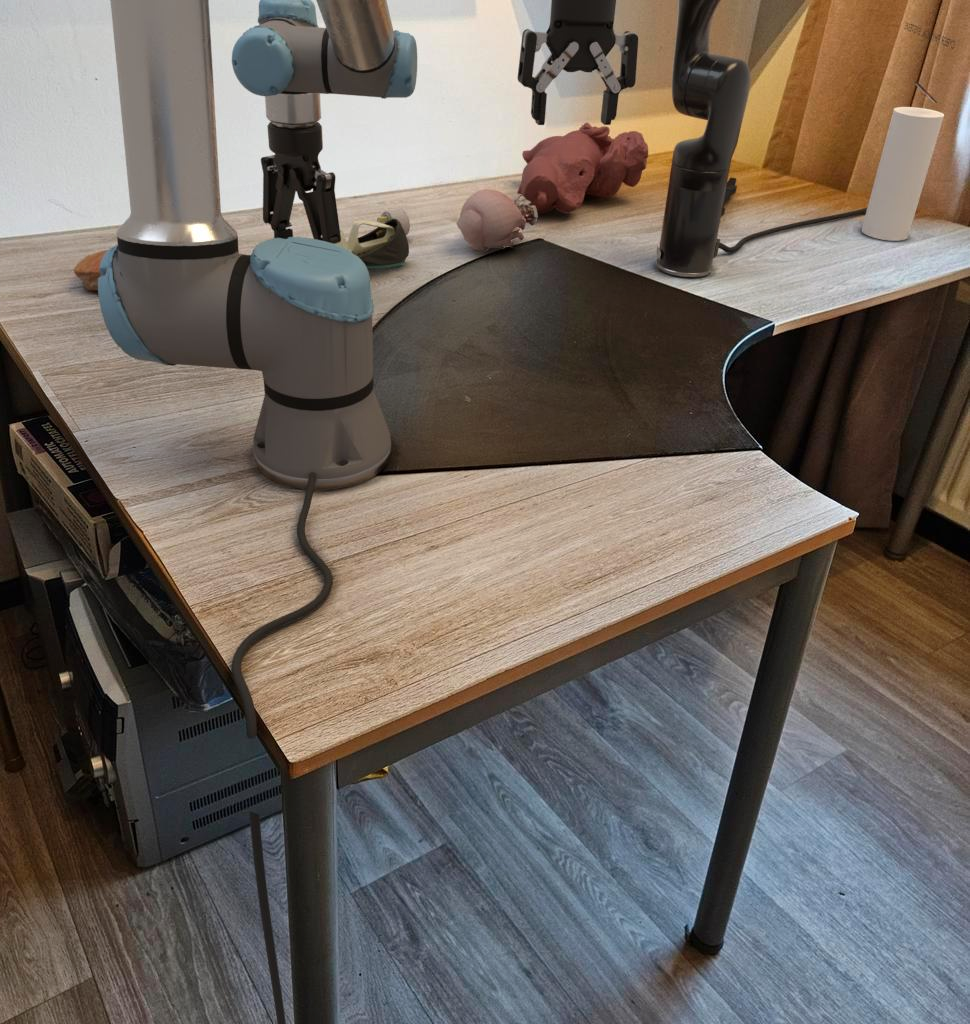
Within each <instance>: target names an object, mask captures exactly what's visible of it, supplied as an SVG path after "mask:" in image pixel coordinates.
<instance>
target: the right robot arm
mask: <svg viewBox="0 0 970 1024" xmlns="http://www.w3.org/2000/svg"><path fill="white" fill-rule="evenodd" d="M721 1H722V0H677V18H676V19H677V21H676V33H675V42H674V44H675V45H674V52H673V62H672V72H671V99H672V103H673V106H674V109H675V110H676V111H677V112H678V113H679V114H681V115H683V116H686V117H691V118H694V119H698V120H699V119H700V120H705V121H707V122H706V125H705V128H704V132H703V133H702V135H701V136H699V137H695V138H689V139H685V140H681V141H678V142H677V143H676V144H675V146H674V148H673V153H672V160H671V165H670V166H671V167H670V172H669V181H668V186H667V194H666V200H665V207H664V214H663V220H662V227H661V234H660V239H659V246H658V245H657V246H656V253H655V254H656V256H657V259H656V261H655V262H656V263H655V266H656V268H657V269H658V270H660V272H663V273H665V274H667V275H670V276H674V277H680V278H681V277H682V278H701V277H705V276H709V275H710V274H711V273H712V271H713V262H714V259H715V258H716V257H718V254H719V249H720V250H722V251H724V252H725V253H728V254H730V253H731V254H732V253H736V252H737V251H738V250H739V249H740V248H741V247H742V246H744V245H745V244H746V243H748V242H750V241H753V240H756V239H759V238H762V237H765V236H769V235H772V234H776V233H779V232H784V231H787V230H792V229H796V228H802V227H806V226H812V225H815V224H821V223H826V222H830V221H836V220H841V219H845V218H851V217H854V216H858V215H863V214H866V211H867V208H868V207H864V208H860V209H856V210H850V211H848V212H842V213H838V214H833V215H827V216H822V217H817V218H812V219H807V220H801V221H798V222H793V223H789V224H785V225H779V226H777V227H773V228H772V227H771V228H769V229H765V230H761V231H758V232H755V233H752V234H749V235H747V236H745V237H743V238H741V239H740V240H739V241H738V242H737V243H736V244H735V245H734V246H731V247H730V246H727V245H726V244H724V243H722V242H721V239H720V238H718V234H719V231H720V225H721V224H720V223H721V219H722V217H721V214H722V208H723V203H724V197H725V192H726V186H727V182H728V180H729V174H730V168H731V165H732V159H733V156H734V154H735V151H736V149H737V146H738V143H739V138H740V134H741V128H742V125H743V119H744V116H745V111H746V107H747V103H748V99H749V95H750V89H751V71H750V67H749V65H748V63H747V62H746V61H745V60H743V59H742V58H741V59H740V58H738V57H733V56H732V57H731V56H727V55H722V54H721V55H720V54H715V53H710V47H709V45H710V34H711V33H710V32H711V26H712V21H713V17H714V16H715V13H716V10H717V9H718V6H719V4H720V3H721ZM550 2H551V3H550V15H549V16H550V17H549V26H548V28H547V30H546V32H544V31H533V30H531V29H529V28H526V29H524V30H523V31H522V35H521V45H520V53H519V59H518V61H519V62H518V69H517V71H518V72H517V81H518V83H520V84H521V85H522V86H523V87H524V88H528V89H531V107H530V116H531V118H532V119H533V120H534V122H535V124H536V125H537V126H544V125H545V123H546V113H547V112H546V111H547V97H548V93H547V92H546V89H547V88H548V87H549V86H550V84H551V83H552V81H553V80H554V79H556V78H557V77H558V76H559V74H560V73H561V72H562V71H564V72H566V73H575V72H579V71H580V72H584V73H593V72H594V71H596V73H597V75H598V76H599V77H600V79H601V81H602V82H603V84H604V86H605V89H603V95H602V104H601V112H600V123H601V124H602V125H603V126H610V125H611V124H612V121H615V120H616V117H617V113H618V104H619V95H620V93H621V92H622V91H623V90H625V89H628V88H630V89H631V88H633V87H634V86H635V85H636V81H637V79H636V78H637V65H638V49H639V36H638V34H636V33H634V32H632V31H630V30H625V31H624V32H623V33H615V31H614V23H615V15H616V6H617V0H551V1H550ZM544 43H545V44H546V47H547V48H548V50H549V52H550V54H549V56H548V57H547V58H546V60H544V62H543V63H542V65H541V68H540V70H539V71H538V72H537V73H536V75H535V76H533V74H534V67H535V59H536V53H537V52H539V51H541V48H542V45H543V44H544ZM615 45H616V46H617V51H618V52H619V53H621V57H620V69H619V70H620V73H619V76H618V77H616V74H615V72H614V70H613V67H612V66H611V64H610V62H609V61H608V59H607V56H608V55H609V53H610V52H611V51H612V49H613V48H614V47H615Z"/></svg>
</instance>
